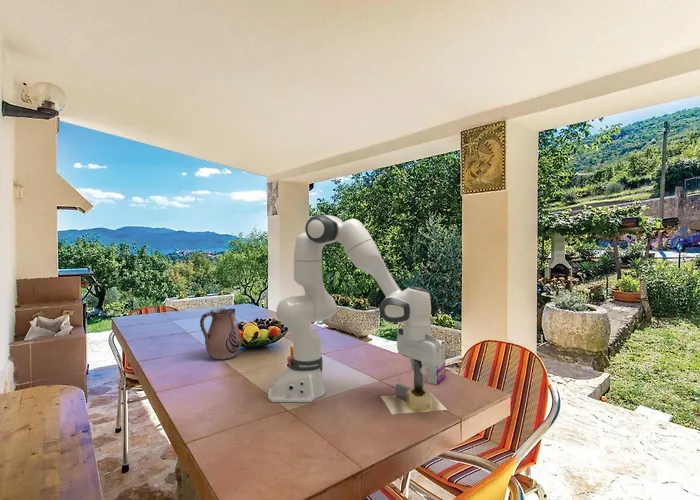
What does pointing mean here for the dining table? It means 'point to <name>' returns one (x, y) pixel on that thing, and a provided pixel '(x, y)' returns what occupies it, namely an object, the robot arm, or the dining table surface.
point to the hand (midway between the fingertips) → (418, 371)
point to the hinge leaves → (413, 397)
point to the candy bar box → (437, 368)
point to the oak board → (401, 406)
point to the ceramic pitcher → (221, 333)
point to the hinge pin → (418, 377)
